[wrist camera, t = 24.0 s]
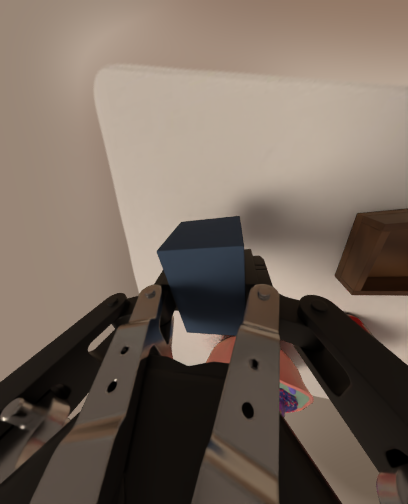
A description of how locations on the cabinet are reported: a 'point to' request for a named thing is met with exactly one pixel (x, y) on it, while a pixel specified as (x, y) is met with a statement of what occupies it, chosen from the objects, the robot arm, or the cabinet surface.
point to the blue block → (207, 274)
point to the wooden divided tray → (376, 254)
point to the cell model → (291, 383)
